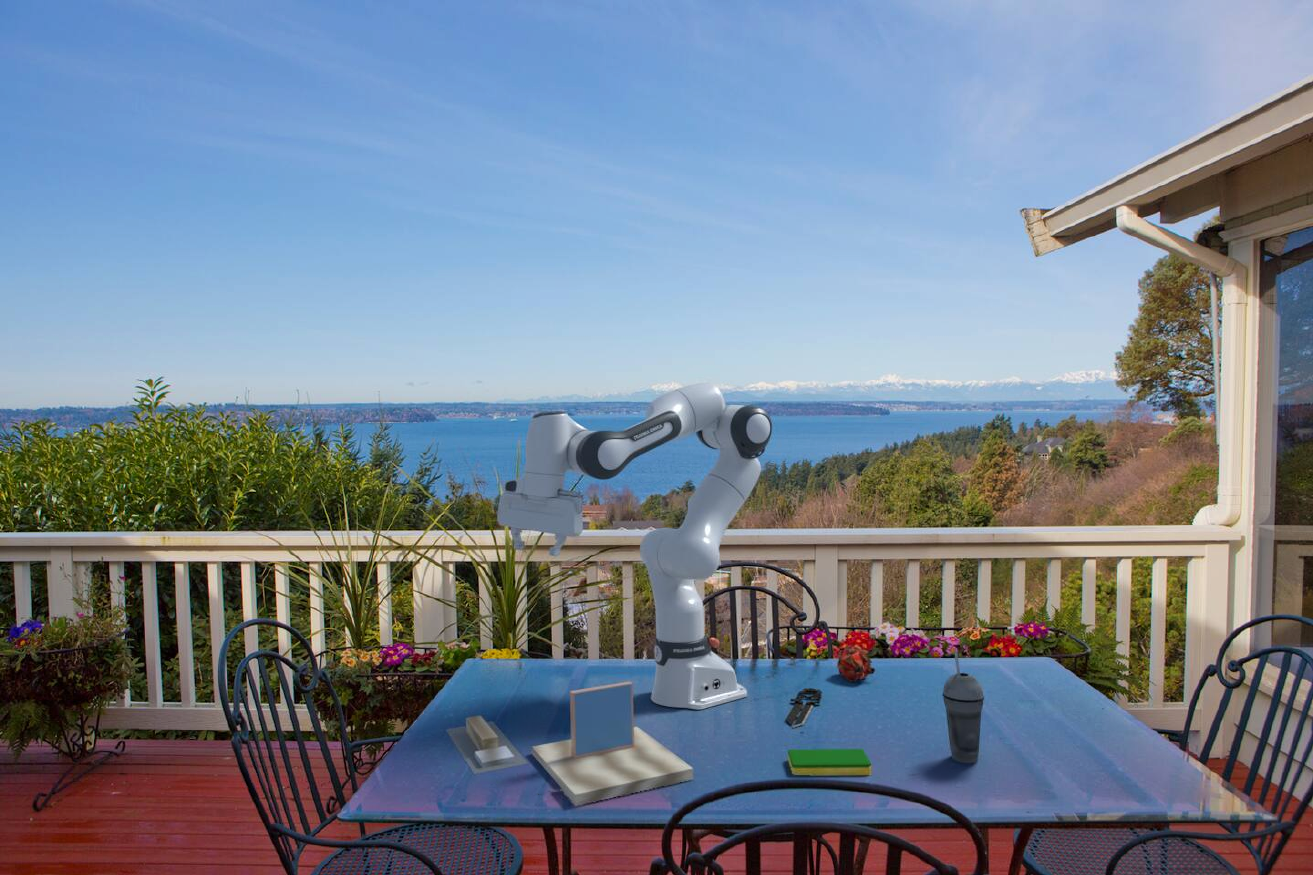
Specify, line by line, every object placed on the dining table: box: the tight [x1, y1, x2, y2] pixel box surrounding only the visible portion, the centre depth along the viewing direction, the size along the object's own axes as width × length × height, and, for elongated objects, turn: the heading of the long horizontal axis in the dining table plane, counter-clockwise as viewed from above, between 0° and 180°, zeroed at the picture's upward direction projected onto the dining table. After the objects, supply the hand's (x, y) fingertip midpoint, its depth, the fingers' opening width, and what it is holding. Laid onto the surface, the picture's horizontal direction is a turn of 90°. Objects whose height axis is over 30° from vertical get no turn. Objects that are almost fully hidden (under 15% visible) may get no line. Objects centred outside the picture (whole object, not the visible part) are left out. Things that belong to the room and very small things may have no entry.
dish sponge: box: [787, 748, 872, 776], centre depth 147 cm, size 7×14×2 cm, turn 88°
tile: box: [569, 681, 635, 759], centre depth 152 cm, size 12×2×12 cm, turn 116°
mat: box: [445, 720, 529, 775], centre depth 160 cm, size 10×26×1 cm, turn 26°
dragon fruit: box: [836, 645, 876, 683], centre depth 200 cm, size 8×8×12 cm
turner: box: [465, 715, 515, 768], centre depth 159 cm, size 6×20×3 cm, turn 26°
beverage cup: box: [942, 648, 985, 764], centre depth 150 cm, size 7×7×20 cm
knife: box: [785, 687, 823, 729], centre depth 179 cm, size 25×6×1 cm, turn 154°
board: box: [531, 726, 694, 805], centre depth 149 cm, size 22×24×2 cm
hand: (536, 552), depth 171 cm, fingers open, 8 cm apart
